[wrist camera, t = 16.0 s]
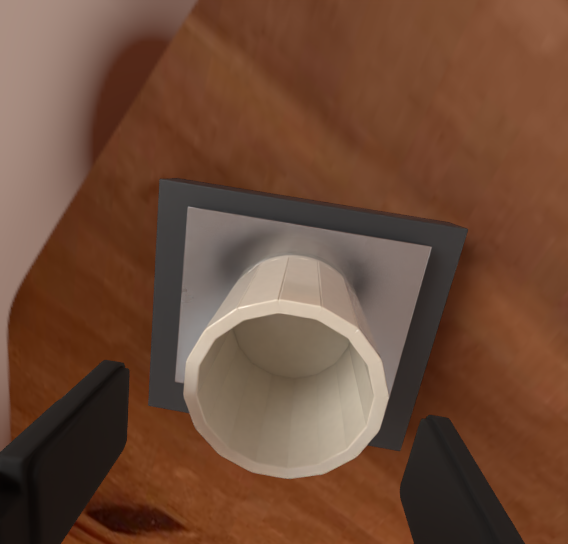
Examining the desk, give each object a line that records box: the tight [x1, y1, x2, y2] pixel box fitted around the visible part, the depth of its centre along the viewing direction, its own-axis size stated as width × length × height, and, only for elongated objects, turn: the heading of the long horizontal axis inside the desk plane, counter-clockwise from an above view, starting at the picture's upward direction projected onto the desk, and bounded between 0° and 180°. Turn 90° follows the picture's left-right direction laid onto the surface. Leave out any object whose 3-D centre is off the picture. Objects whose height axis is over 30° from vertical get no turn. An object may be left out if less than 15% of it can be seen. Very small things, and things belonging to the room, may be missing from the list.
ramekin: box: [183, 255, 389, 479], centre depth 15 cm, size 7×7×6 cm
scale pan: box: [175, 205, 432, 419], centre depth 19 cm, size 12×10×1 cm
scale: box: [148, 178, 468, 451], centre depth 21 cm, size 16×14×3 cm
